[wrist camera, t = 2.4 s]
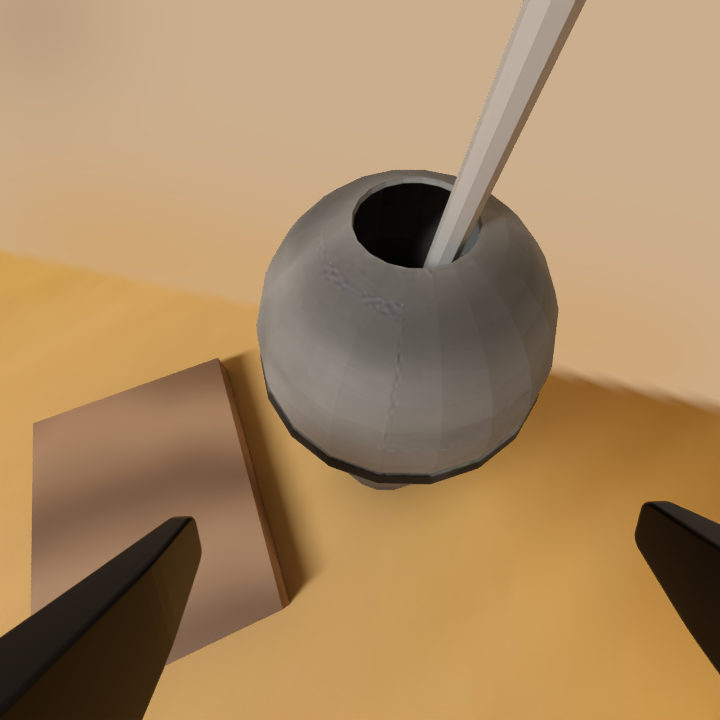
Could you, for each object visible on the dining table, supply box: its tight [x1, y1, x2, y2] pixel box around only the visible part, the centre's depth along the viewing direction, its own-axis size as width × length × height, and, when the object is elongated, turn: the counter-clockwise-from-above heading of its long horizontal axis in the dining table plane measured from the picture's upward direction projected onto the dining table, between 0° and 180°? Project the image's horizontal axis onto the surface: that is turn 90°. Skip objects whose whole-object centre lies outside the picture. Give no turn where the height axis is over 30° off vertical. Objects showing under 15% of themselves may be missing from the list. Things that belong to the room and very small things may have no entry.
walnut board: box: [31, 358, 290, 665], centre depth 18 cm, size 13×10×2 cm
